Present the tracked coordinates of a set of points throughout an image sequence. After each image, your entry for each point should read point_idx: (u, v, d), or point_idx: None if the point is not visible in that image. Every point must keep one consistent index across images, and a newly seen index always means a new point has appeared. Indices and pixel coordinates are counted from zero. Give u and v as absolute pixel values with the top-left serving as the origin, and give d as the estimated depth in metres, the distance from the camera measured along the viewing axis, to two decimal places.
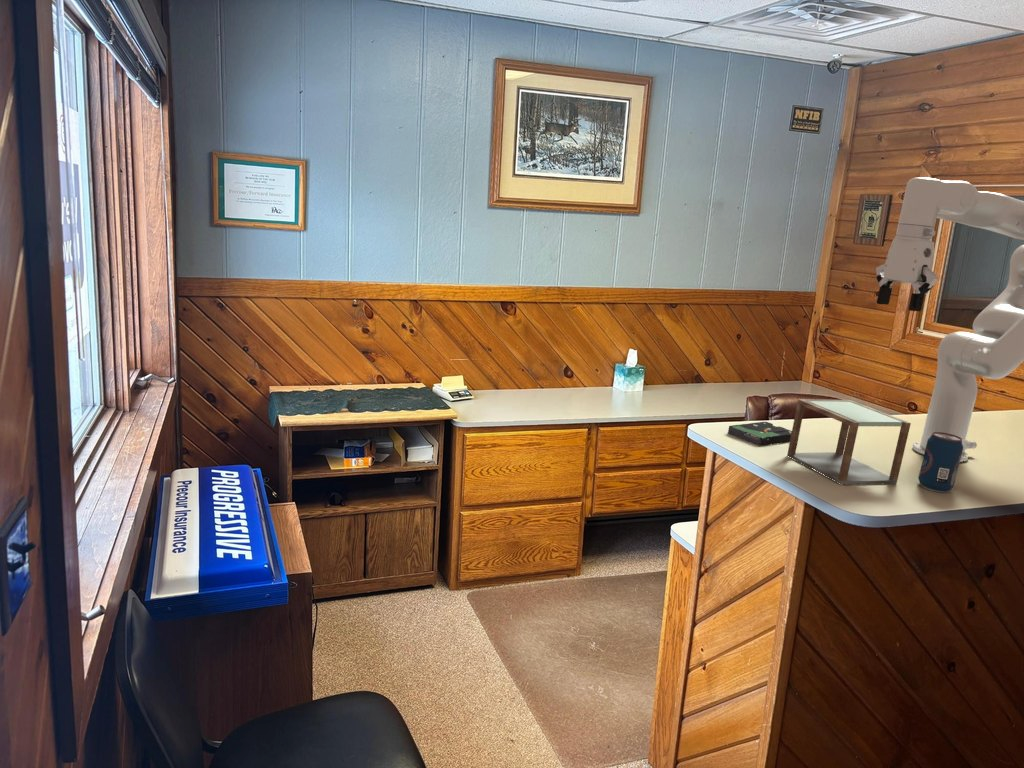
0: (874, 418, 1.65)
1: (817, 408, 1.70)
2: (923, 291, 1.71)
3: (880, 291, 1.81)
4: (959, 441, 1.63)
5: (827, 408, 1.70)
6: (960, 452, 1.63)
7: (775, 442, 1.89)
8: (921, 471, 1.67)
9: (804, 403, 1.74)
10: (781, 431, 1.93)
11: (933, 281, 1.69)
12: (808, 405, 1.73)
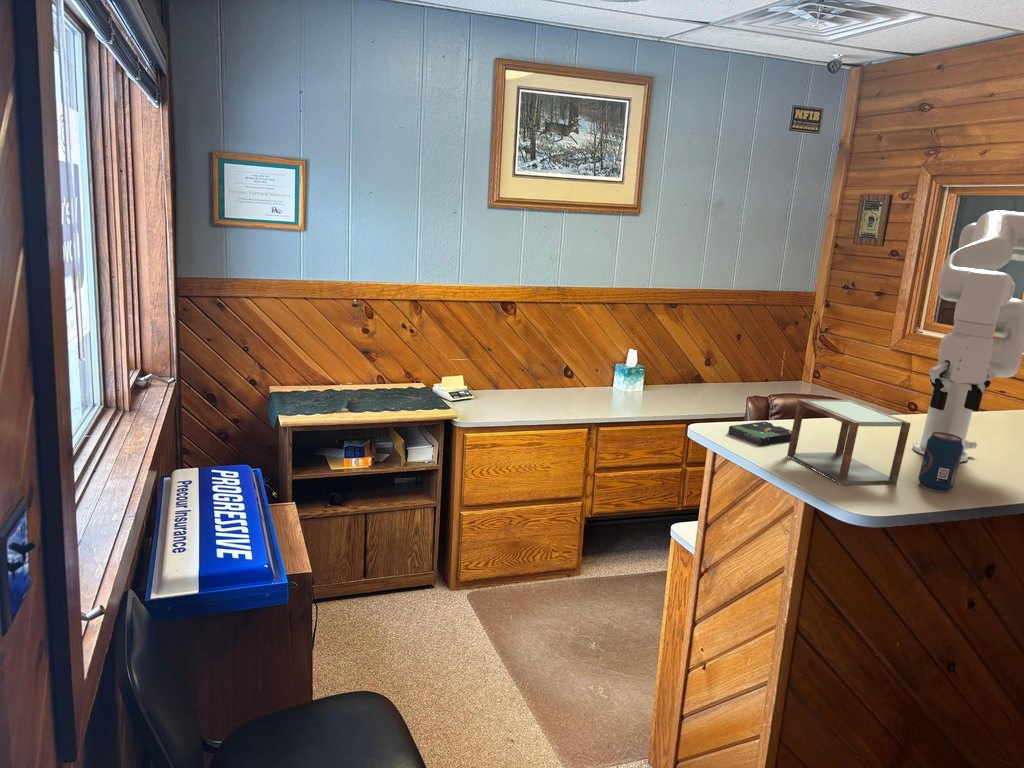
0: (874, 418, 1.65)
1: (817, 408, 1.70)
2: None
3: (946, 396, 1.59)
4: (959, 441, 1.63)
5: (827, 408, 1.70)
6: (960, 452, 1.63)
7: (775, 442, 1.89)
8: (921, 471, 1.67)
9: (804, 403, 1.74)
10: (781, 431, 1.93)
11: None
12: (808, 405, 1.73)
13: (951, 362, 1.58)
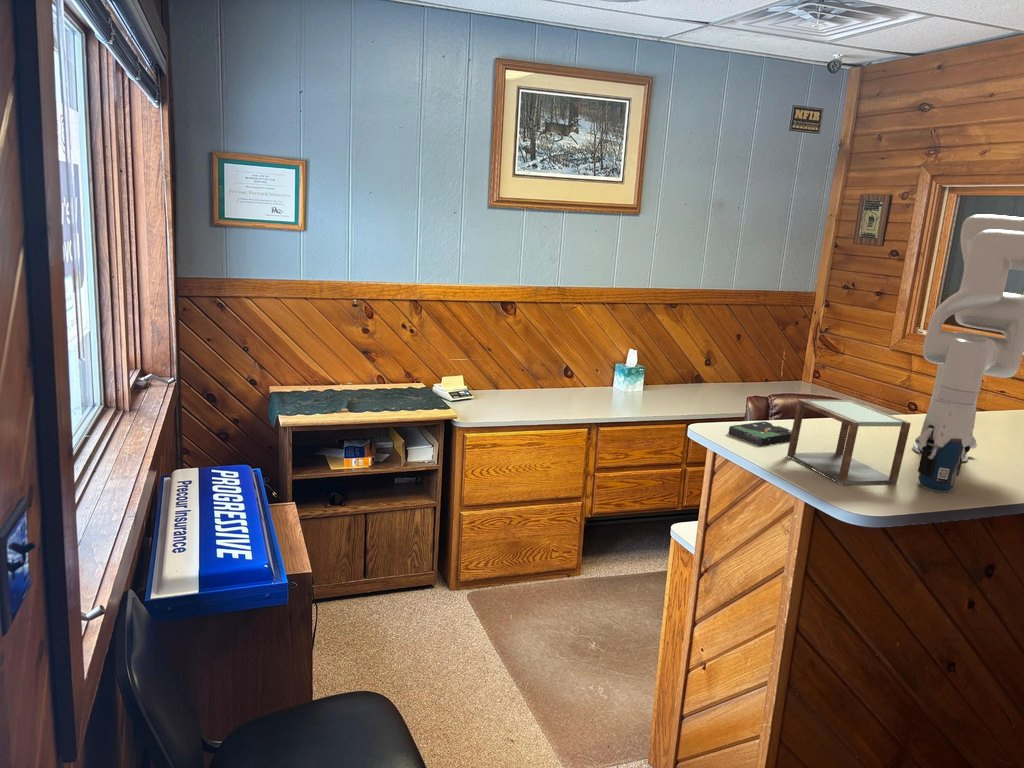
0: (874, 418, 1.65)
1: (817, 408, 1.70)
2: None
3: (933, 463, 1.64)
4: (959, 441, 1.63)
5: (827, 408, 1.70)
6: (960, 452, 1.63)
7: (776, 442, 1.89)
8: None
9: (804, 403, 1.74)
10: (781, 431, 1.94)
11: None
12: (808, 405, 1.73)
13: (935, 427, 1.62)
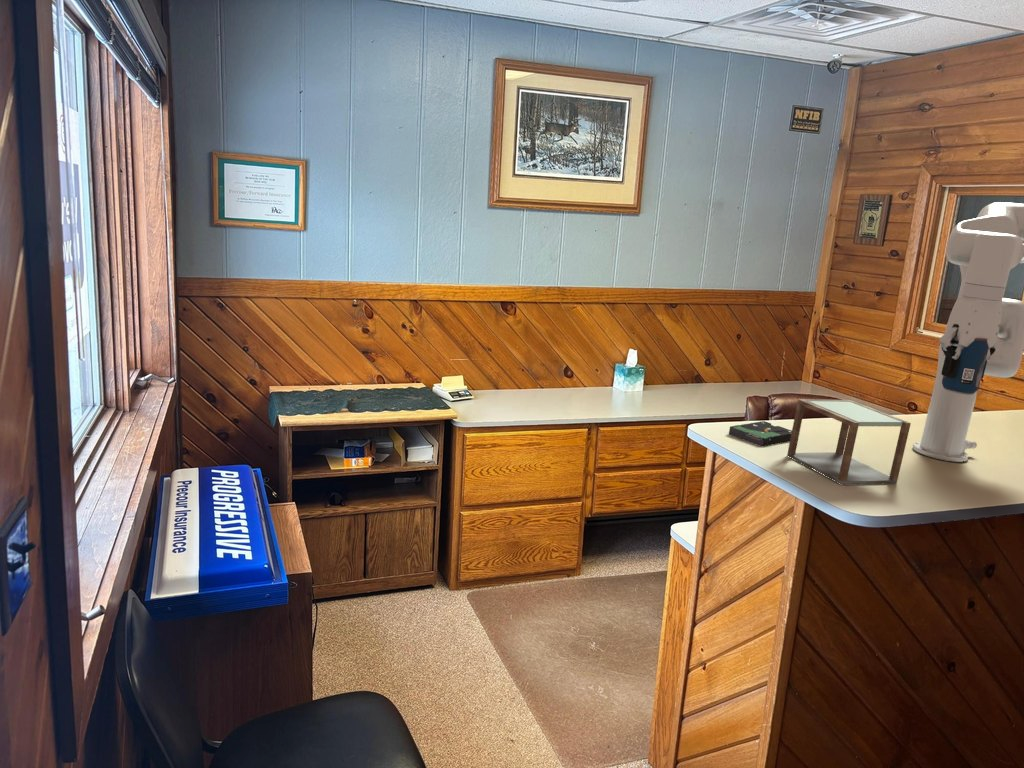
0: (874, 418, 1.65)
1: (817, 408, 1.70)
2: None
3: (958, 364, 1.59)
4: (985, 340, 1.57)
5: (827, 408, 1.70)
6: (986, 352, 1.58)
7: (776, 442, 1.89)
8: None
9: (804, 403, 1.74)
10: (781, 431, 1.94)
11: None
12: (808, 405, 1.73)
13: (960, 326, 1.57)
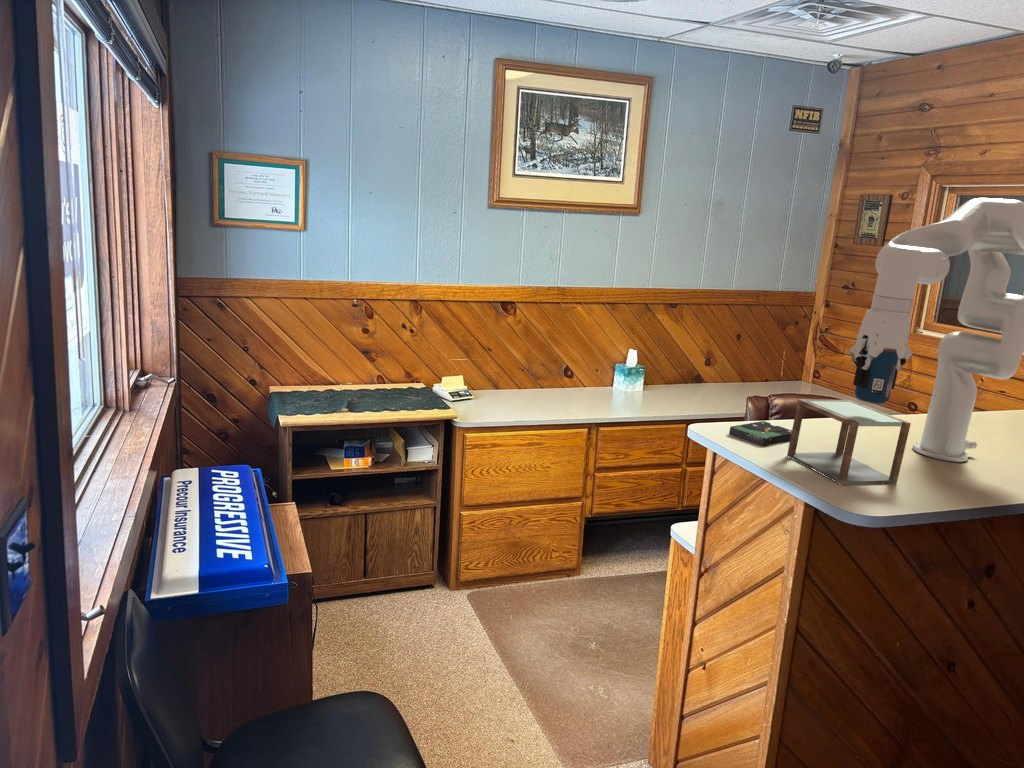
0: (874, 418, 1.65)
1: (817, 408, 1.70)
2: None
3: (868, 374, 1.61)
4: (893, 351, 1.60)
5: (827, 408, 1.70)
6: (895, 362, 1.60)
7: (777, 442, 1.89)
8: None
9: (804, 403, 1.74)
10: (781, 430, 1.94)
11: None
12: (808, 405, 1.73)
13: (869, 337, 1.60)
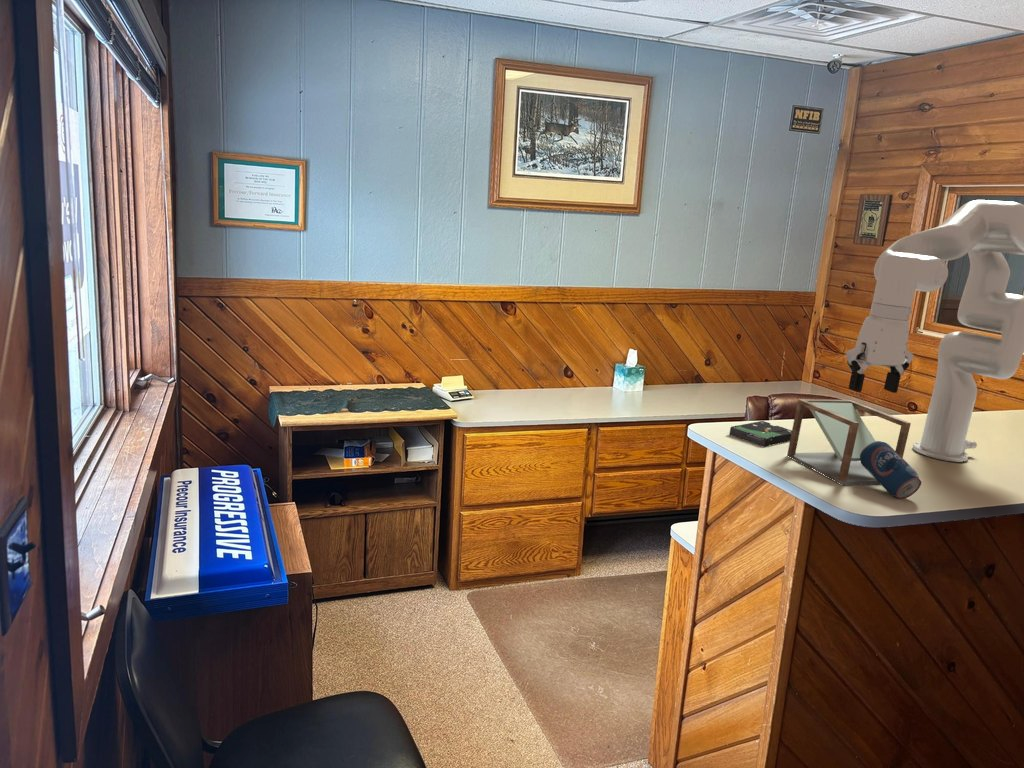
0: (861, 449, 1.68)
1: (817, 408, 1.70)
2: None
3: (863, 378, 1.61)
4: None
5: (823, 422, 1.71)
6: None
7: (777, 442, 1.89)
8: (874, 454, 1.61)
9: (804, 403, 1.74)
10: (781, 430, 1.94)
11: None
12: (808, 405, 1.73)
13: (867, 344, 1.60)
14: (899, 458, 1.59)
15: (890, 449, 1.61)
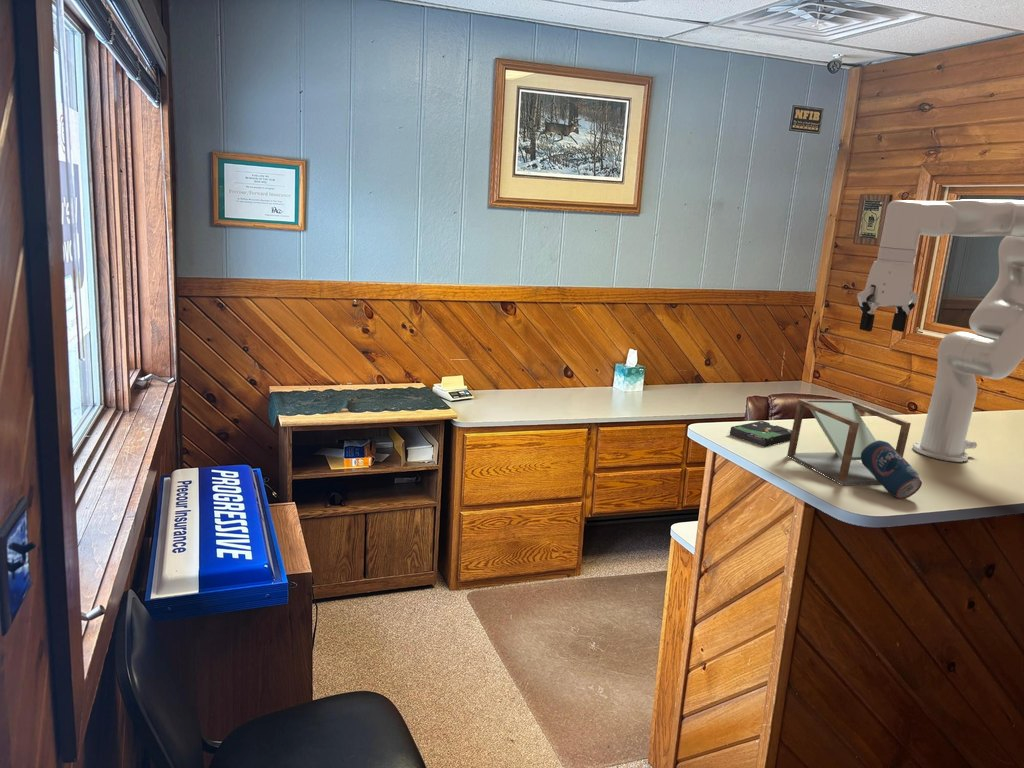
0: (862, 448, 1.68)
1: (817, 408, 1.70)
2: None
3: (873, 318, 1.73)
4: None
5: (823, 422, 1.71)
6: None
7: (777, 442, 1.89)
8: (876, 454, 1.61)
9: (804, 403, 1.74)
10: (780, 430, 1.94)
11: None
12: (808, 405, 1.73)
13: (876, 286, 1.71)
14: (900, 458, 1.58)
15: (891, 449, 1.61)
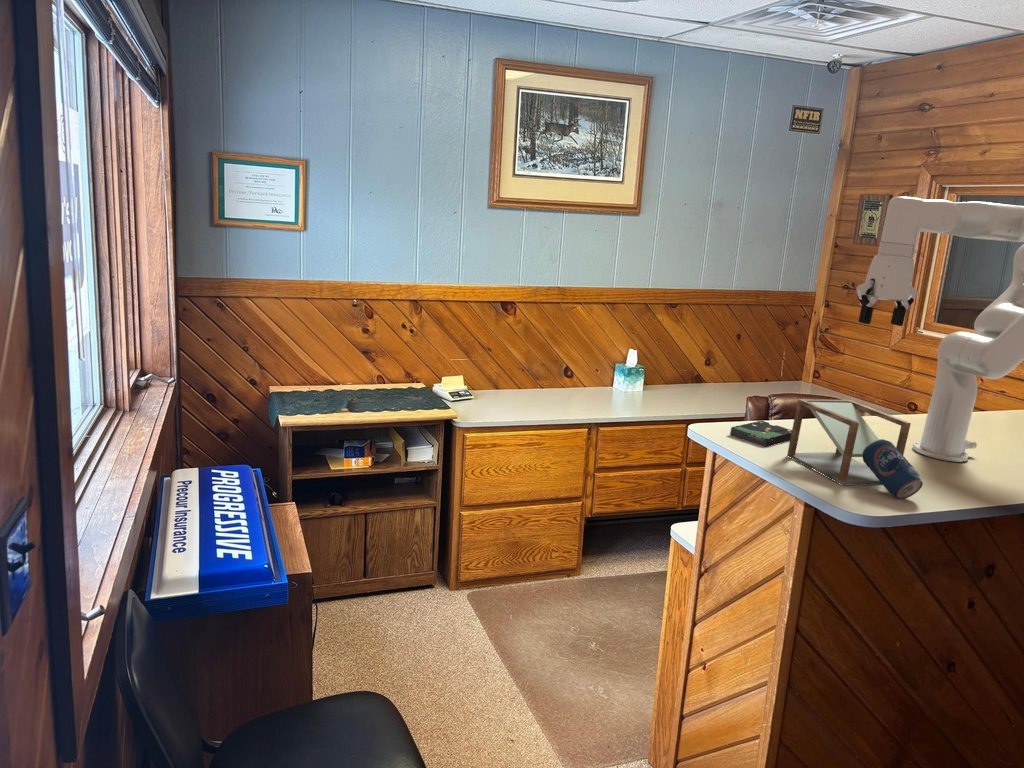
0: (864, 445, 1.68)
1: (817, 408, 1.70)
2: None
3: (872, 311, 1.77)
4: None
5: (824, 421, 1.71)
6: None
7: (778, 442, 1.89)
8: (877, 453, 1.60)
9: (804, 403, 1.74)
10: (780, 430, 1.94)
11: None
12: (808, 405, 1.73)
13: (876, 280, 1.76)
14: (902, 458, 1.58)
15: (893, 448, 1.60)
